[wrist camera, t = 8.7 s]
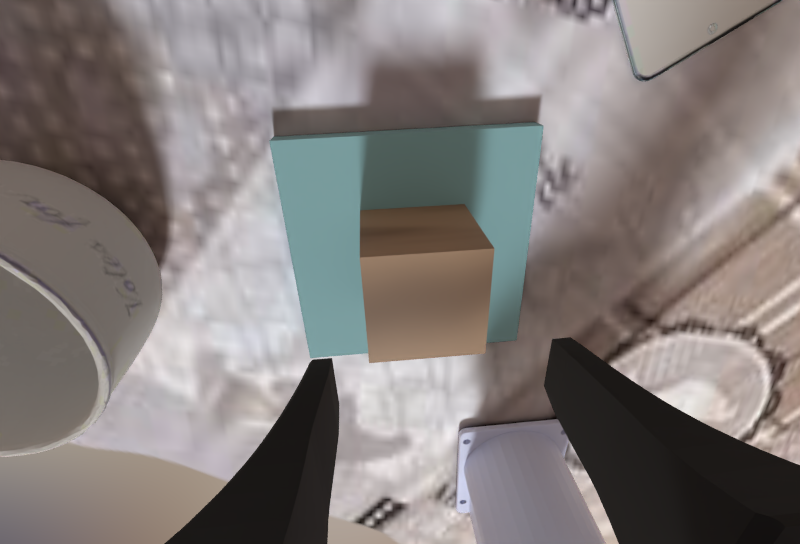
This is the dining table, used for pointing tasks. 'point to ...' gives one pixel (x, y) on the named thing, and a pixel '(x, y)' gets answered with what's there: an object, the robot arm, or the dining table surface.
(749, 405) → the dining table surface
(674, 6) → the smartphone
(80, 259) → the teacup
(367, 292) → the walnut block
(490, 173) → the teal square plate
